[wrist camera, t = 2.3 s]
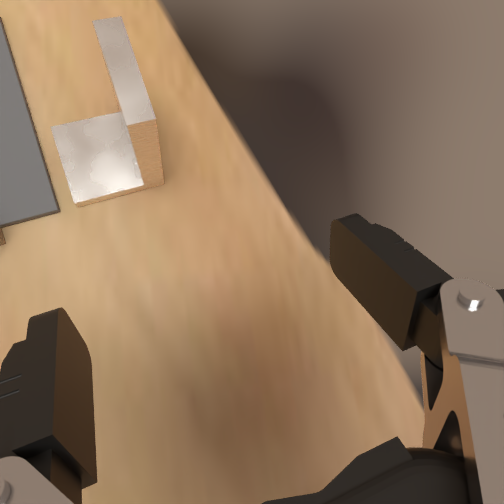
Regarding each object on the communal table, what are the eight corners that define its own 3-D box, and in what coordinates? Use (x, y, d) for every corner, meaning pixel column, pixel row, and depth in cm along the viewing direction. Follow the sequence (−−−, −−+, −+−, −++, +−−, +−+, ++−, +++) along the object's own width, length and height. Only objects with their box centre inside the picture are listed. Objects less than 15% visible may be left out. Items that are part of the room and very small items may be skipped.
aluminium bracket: (78, 207, 27) (21, 149, 18) (55, 133, 28) (-13, 37, 18) (164, 184, 29) (156, 118, 19) (140, 114, 29) (121, 16, 20)
